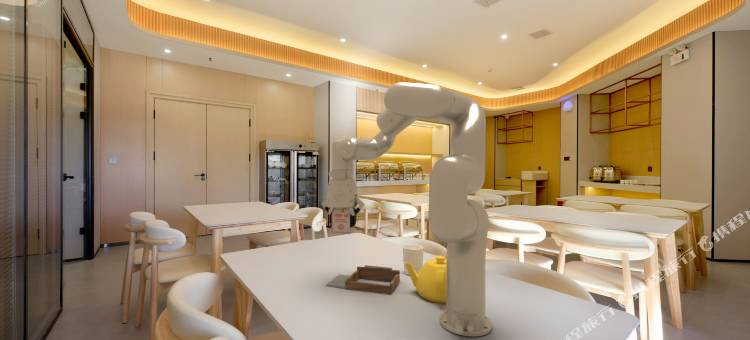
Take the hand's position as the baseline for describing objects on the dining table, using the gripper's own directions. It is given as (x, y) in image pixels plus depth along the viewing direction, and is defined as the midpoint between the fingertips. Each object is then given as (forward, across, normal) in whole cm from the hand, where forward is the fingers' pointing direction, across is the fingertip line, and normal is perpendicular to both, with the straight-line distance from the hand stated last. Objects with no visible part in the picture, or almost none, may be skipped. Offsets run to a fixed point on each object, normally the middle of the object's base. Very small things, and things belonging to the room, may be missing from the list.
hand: (342, 225), depth 111 cm
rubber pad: (+20, 0, 0) cm, 20 cm away
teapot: (+20, +34, -1) cm, 39 cm away
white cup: (+20, +22, +17) cm, 34 cm away
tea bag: (+3, 0, 0) cm, 3 cm away
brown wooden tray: (+20, +11, 0) cm, 23 cm away
